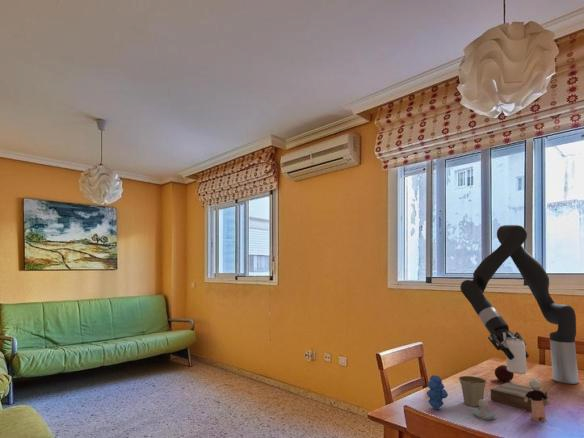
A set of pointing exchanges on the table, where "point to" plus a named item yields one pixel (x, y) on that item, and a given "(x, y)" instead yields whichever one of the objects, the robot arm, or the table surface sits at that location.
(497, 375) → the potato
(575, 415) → the table surface
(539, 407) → the grandmother figurine
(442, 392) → the grapes
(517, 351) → the can
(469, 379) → the flower pot
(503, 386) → the walnut block
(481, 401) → the pacifier
